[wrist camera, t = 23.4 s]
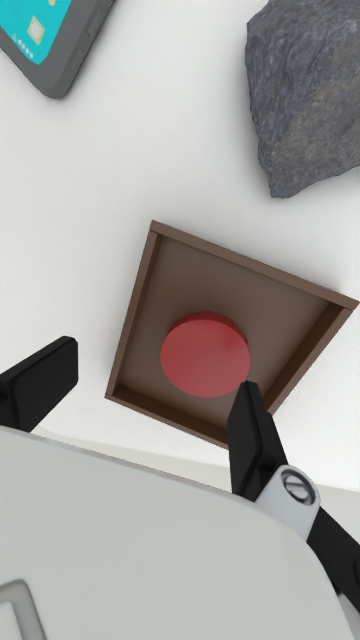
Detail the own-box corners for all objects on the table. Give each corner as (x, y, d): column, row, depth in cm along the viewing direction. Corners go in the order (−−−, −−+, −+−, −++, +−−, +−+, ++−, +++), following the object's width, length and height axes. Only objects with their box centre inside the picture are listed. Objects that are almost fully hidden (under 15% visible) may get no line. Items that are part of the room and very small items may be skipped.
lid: (180, 298, 15) (176, 304, 13) (263, 331, 15) (268, 342, 13) (155, 365, 18) (149, 377, 16) (225, 394, 17) (226, 409, 16)
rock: (200, 111, 12) (299, 243, 12) (173, -15, 7) (348, 220, 7) (361, -77, 9) (491, 102, 9) (544, -580, 4) (842, -131, 4)
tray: (239, 435, 20) (241, 456, 18) (114, 382, 20) (103, 397, 18) (340, 293, 14) (361, 302, 12) (160, 222, 14) (151, 219, 12)
